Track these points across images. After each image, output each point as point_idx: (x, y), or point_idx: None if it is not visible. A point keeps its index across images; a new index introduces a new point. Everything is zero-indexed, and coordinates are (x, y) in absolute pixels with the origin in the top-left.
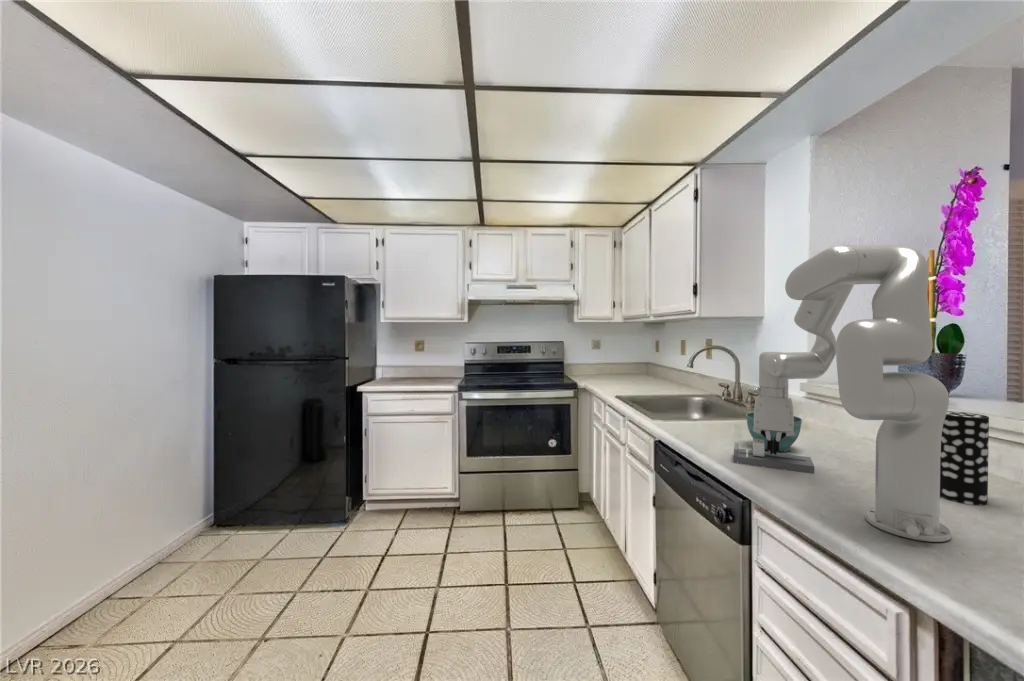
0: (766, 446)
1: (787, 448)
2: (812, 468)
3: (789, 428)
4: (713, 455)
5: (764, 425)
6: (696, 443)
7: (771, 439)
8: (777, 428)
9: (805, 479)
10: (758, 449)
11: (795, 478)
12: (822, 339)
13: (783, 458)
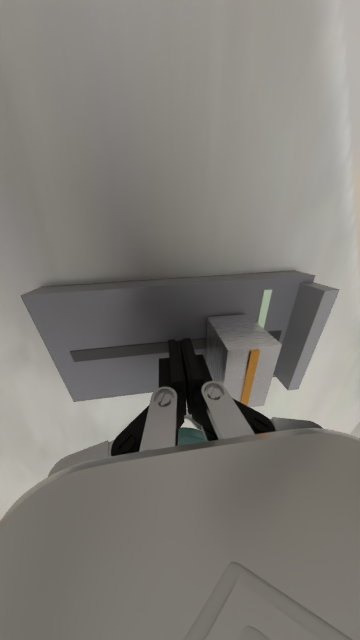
0: (192, 436)
1: None
2: (34, 291)
3: (21, 542)
4: (334, 320)
5: (326, 499)
6: (340, 397)
7: (197, 394)
8: (172, 491)
9: (41, 167)
10: (239, 328)
11: (81, 158)
12: None
13: (144, 343)
